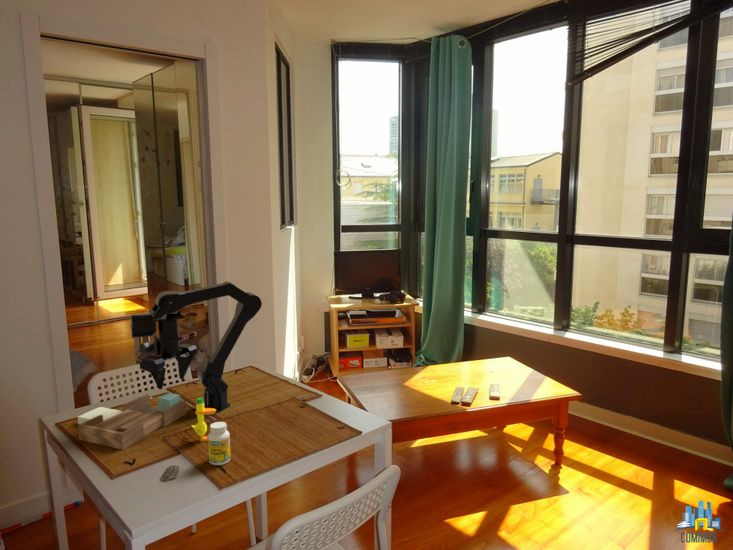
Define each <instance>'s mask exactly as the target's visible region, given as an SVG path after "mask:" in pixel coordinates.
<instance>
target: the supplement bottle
mask: <svg viewBox="0 0 733 550" xmlns="http://www.w3.org/2000/svg"><path fill="white" fill-rule="evenodd" d="M209 430H210V432H209V433H208V436H207V437H208V439H207V446H208V448H207V450H208V462H209V463H210V465H213V466H222V465H225V464H227V463H229V462H230V460H231V458H232V457H231V455H232V454H231V437H230V435H231V434H230V431H229V430H228V425H227V423H226V422H225V421H216V422H213V423H211V424H210V425H209Z"/></svg>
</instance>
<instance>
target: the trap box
mask: <svg viewBox="0 0 733 550" xmlns="http://www.w3.org/2000/svg"><path fill="white" fill-rule="evenodd" d="M149 398H150V395H149V393H145V394H143V395H141V396H139V397H137V398H135V399H132V400H129V401H128V402H126V403H123V404H122V411H123V412H121V413H119V414H117V415H115V416H113V417H111V418H109V419H106V420H104V421H103V415H99V416H97V417H94V418H92V419H90V420H88V421H86V422H83V423H81V424H78V425H77V427H78V437H79V438H78V440H79V441H84V442H87V443H88V442H89V443H91V444H92V443H93V444H97V445H101V446H104V447H109V448H114V449H117V450H122V451H123V450H125V449H127V448H129V447H130V446H133V445H134V444H136V443H137V442H139V441H141V440H143V439H145V436H147V435H149V434H151V433H152V432H154V431H156V430H157V429H160V428H162V427H166V426H168V425H170V424H172V423H174V422H176V421H177V420H179V419H181V418H183V417H184V416H186V415H187V414H188V409H187V407H188V406H187V400H183V401H180V403H178V404H176V405H174V406H173V407H171V408H169V409H167V410H165V411H158V405H156V406H150V399H149Z"/></svg>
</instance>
